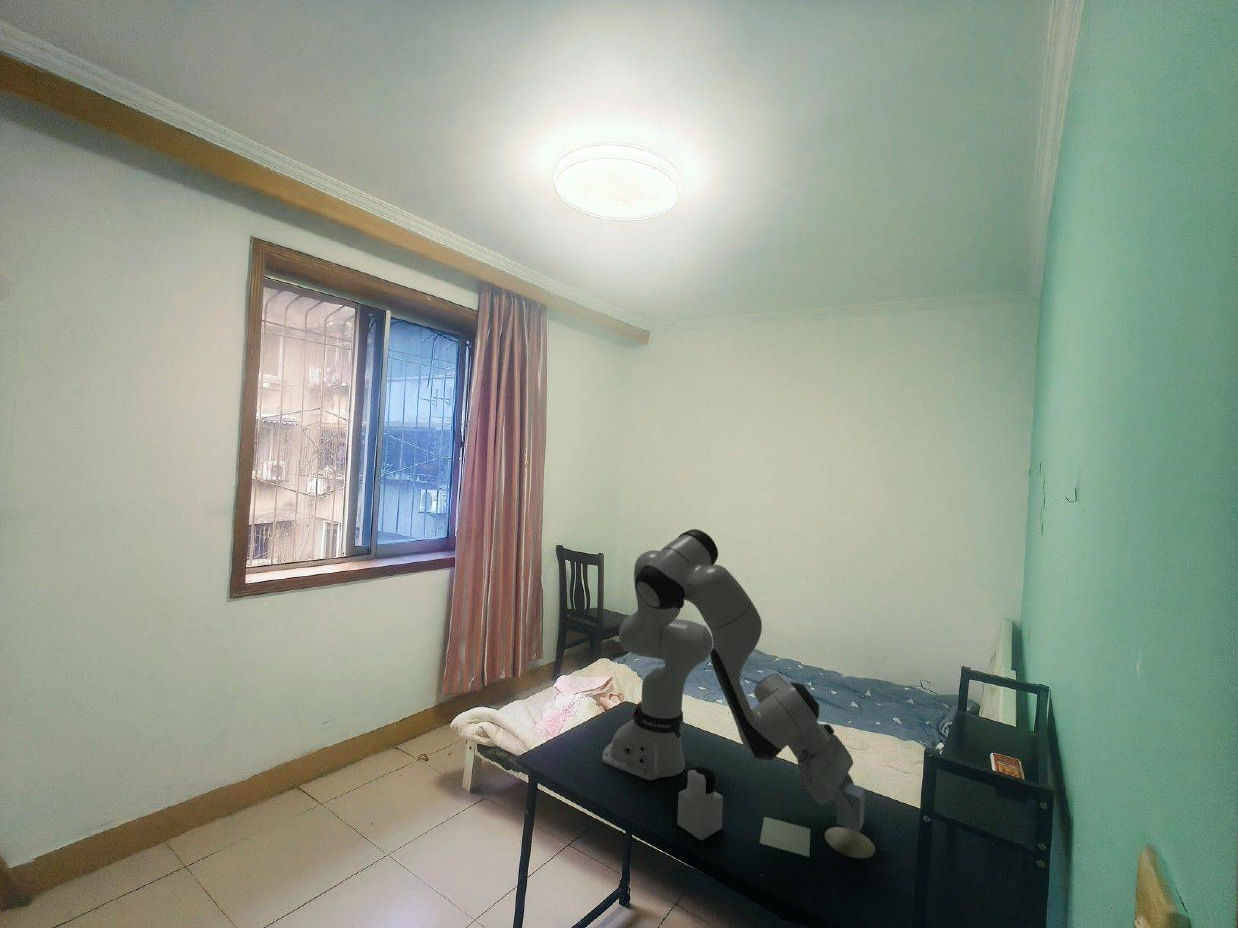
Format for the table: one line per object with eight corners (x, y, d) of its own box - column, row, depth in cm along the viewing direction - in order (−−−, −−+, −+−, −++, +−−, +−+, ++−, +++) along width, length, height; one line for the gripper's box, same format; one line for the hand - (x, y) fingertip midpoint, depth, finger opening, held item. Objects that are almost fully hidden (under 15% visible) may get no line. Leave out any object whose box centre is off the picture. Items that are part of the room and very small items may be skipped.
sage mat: (759, 843, 113) (759, 842, 113) (764, 817, 122) (764, 816, 122) (809, 857, 109) (809, 856, 109) (810, 829, 119) (810, 828, 119)
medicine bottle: (697, 812, 123) (699, 759, 123) (722, 828, 117) (724, 773, 118) (676, 824, 118) (679, 769, 118) (701, 841, 113) (703, 783, 113)
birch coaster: (824, 850, 112) (824, 849, 112) (824, 823, 121) (824, 822, 121) (877, 864, 108) (877, 863, 108) (872, 835, 118) (872, 834, 118)
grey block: (836, 823, 115) (837, 789, 115) (841, 813, 119) (842, 780, 119) (859, 832, 112) (860, 797, 113) (863, 821, 116) (865, 788, 116)
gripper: (806, 754, 112) (854, 821, 106) (831, 721, 128) (874, 777, 122) (784, 768, 114) (829, 834, 108) (812, 734, 131) (853, 790, 125)
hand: (853, 804), depth 115 cm, fingers closed on grey block, 5 cm apart
